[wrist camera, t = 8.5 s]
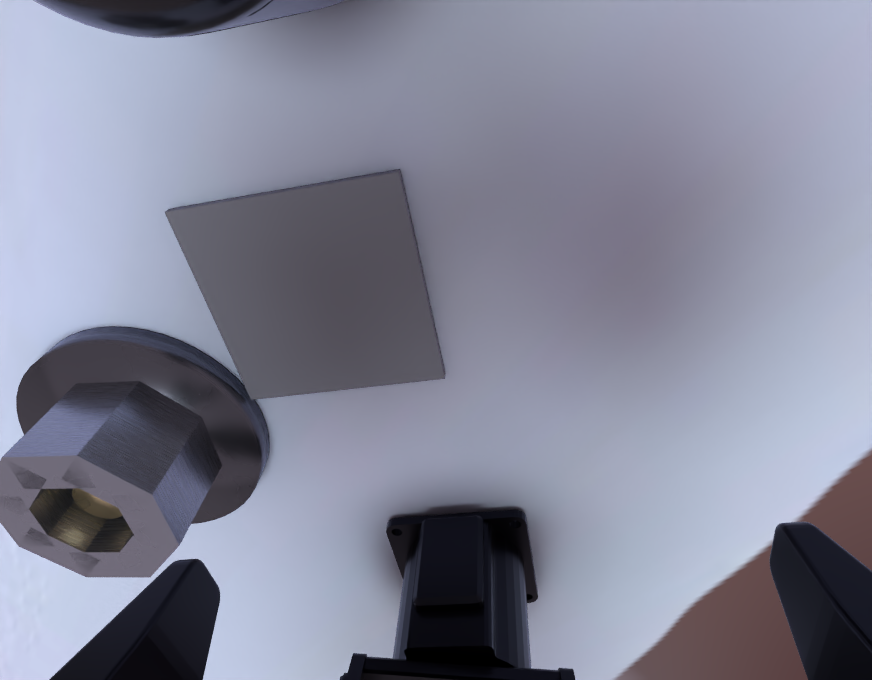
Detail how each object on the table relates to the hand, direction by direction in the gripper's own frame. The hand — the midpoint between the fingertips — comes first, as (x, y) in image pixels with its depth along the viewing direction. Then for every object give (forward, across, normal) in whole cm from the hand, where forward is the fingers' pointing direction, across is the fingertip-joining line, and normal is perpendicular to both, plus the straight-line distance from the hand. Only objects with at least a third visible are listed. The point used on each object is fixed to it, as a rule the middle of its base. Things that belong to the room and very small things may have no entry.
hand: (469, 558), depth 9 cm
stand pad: (+12, +6, +1) cm, 13 cm away
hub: (+12, +15, +6) cm, 20 cm away
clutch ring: (+11, +15, +6) cm, 19 cm away
